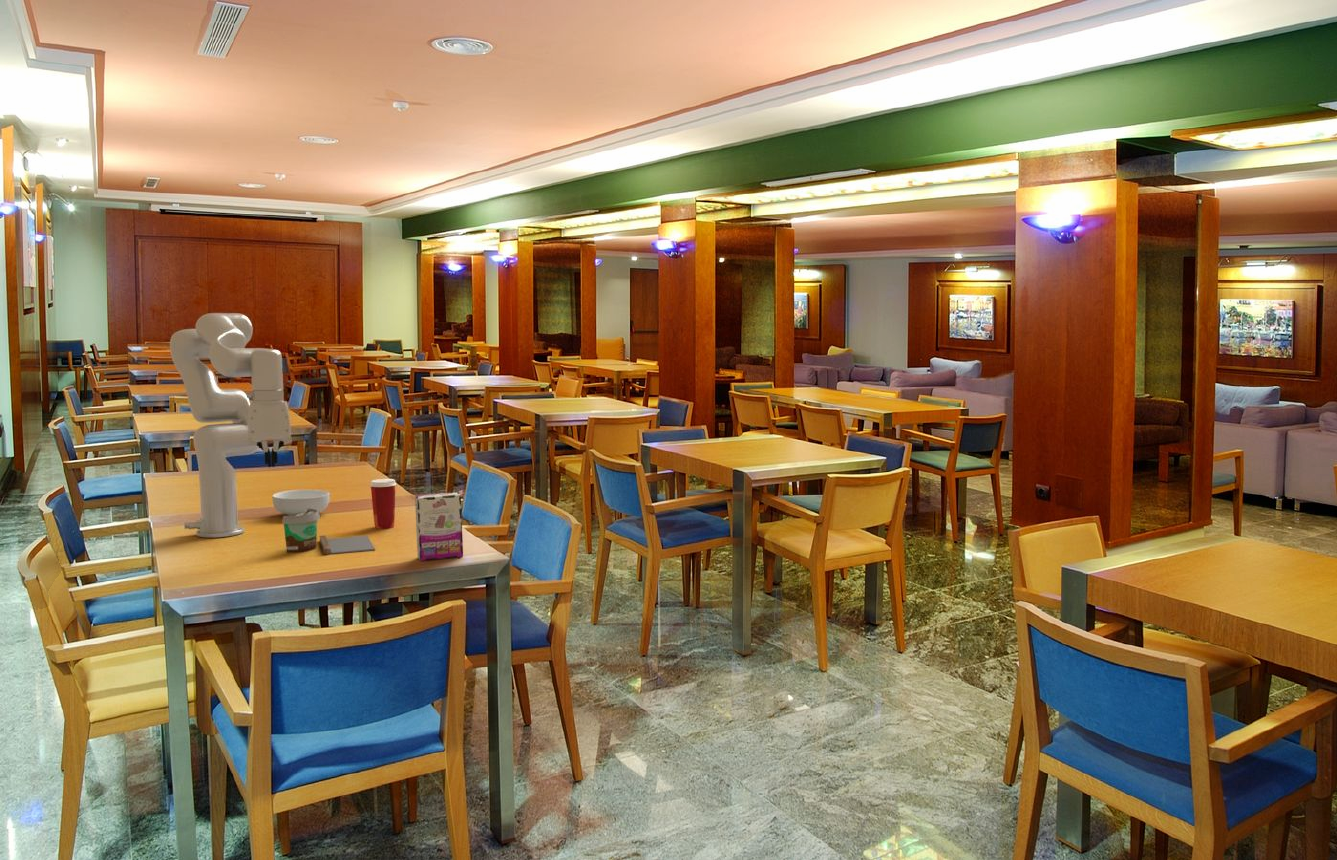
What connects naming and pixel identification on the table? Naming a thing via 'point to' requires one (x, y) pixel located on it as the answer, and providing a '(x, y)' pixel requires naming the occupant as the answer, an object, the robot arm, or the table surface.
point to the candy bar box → (439, 526)
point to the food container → (301, 531)
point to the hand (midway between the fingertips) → (271, 466)
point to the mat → (350, 544)
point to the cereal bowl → (300, 501)
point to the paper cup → (383, 502)
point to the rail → (325, 545)
